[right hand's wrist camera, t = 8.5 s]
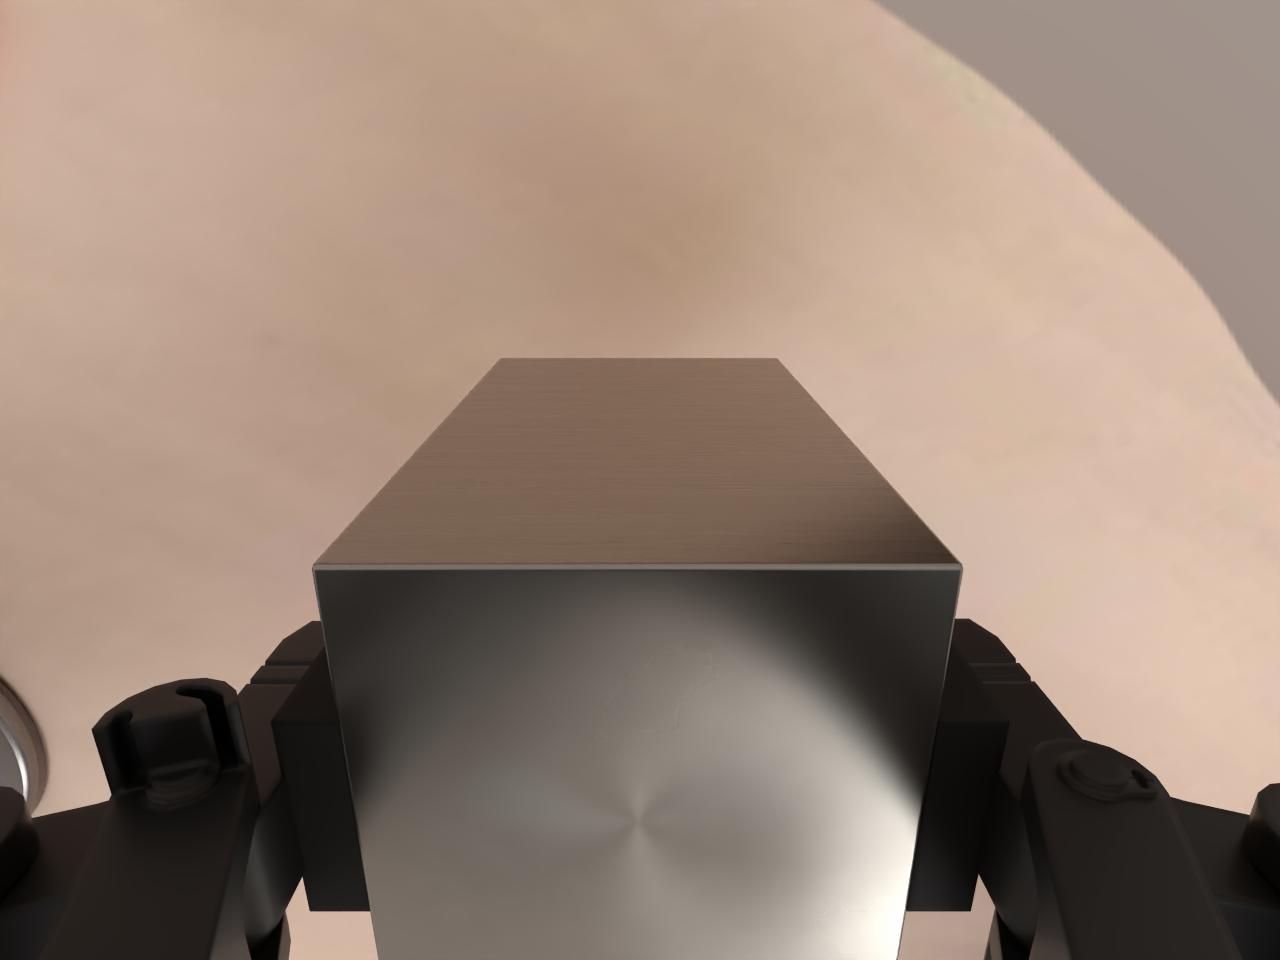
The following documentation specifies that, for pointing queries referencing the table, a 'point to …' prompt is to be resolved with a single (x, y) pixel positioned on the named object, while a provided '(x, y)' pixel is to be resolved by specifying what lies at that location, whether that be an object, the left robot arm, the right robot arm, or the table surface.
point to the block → (637, 673)
